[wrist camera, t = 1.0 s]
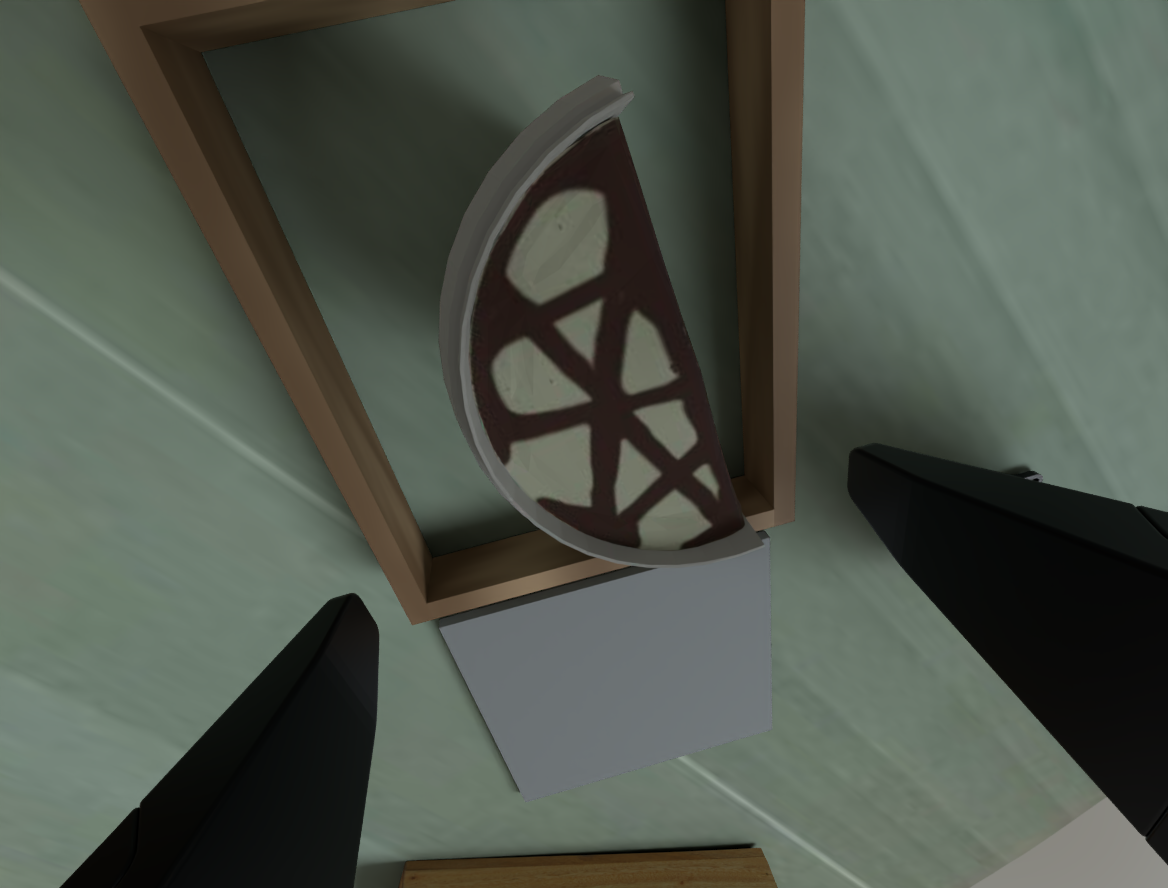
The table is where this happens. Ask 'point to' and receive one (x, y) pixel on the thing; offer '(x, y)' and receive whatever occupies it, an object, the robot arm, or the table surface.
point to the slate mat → (621, 669)
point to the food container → (583, 351)
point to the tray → (597, 871)
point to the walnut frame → (301, 338)
